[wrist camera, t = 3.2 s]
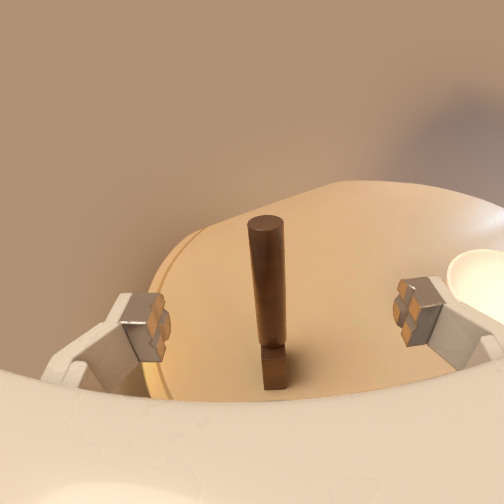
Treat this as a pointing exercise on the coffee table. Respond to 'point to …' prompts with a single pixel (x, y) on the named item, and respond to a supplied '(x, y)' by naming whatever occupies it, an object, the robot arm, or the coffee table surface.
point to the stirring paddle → (269, 295)
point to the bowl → (479, 281)
